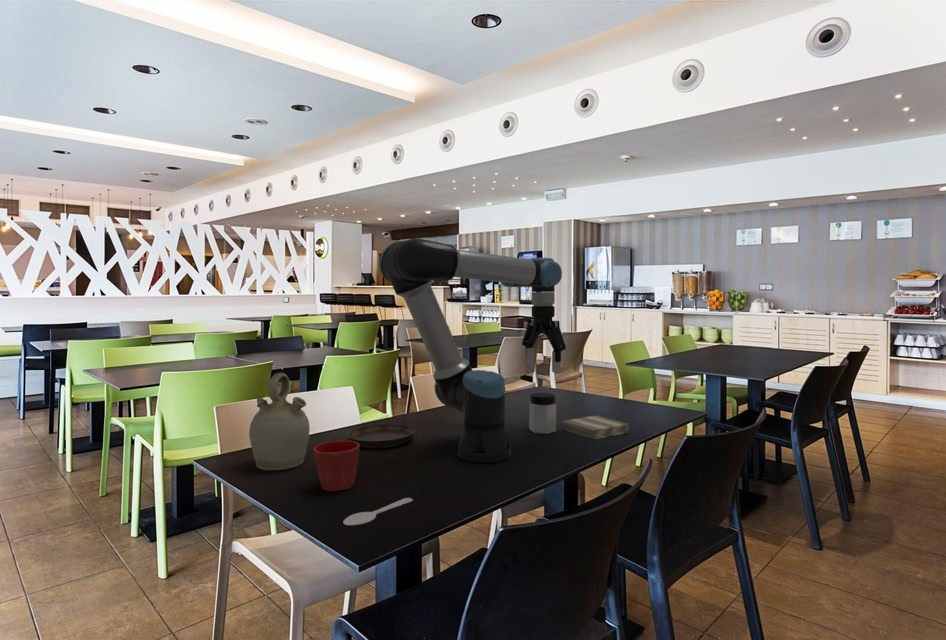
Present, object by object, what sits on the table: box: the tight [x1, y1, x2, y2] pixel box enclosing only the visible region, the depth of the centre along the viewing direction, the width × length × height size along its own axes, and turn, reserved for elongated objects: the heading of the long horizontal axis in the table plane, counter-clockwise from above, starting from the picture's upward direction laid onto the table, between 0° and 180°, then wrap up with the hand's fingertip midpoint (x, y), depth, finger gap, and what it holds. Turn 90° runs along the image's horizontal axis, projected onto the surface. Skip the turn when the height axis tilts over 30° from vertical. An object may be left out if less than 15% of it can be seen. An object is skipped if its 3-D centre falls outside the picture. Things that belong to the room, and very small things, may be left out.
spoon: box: [342, 497, 414, 526], centre depth 118 cm, size 5×18×1 cm, turn 139°
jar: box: [528, 392, 557, 435], centre depth 184 cm, size 9×8×12 cm
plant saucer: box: [347, 423, 416, 449], centre depth 173 cm, size 21×21×3 cm
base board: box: [562, 414, 630, 441], centre depth 183 cm, size 15×15×3 cm
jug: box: [248, 372, 310, 472], centre depth 150 cm, size 15×16×25 cm
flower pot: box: [313, 440, 361, 492], centre depth 133 cm, size 11×11×10 cm
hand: (542, 369), depth 183 cm, fingers open, 13 cm apart
